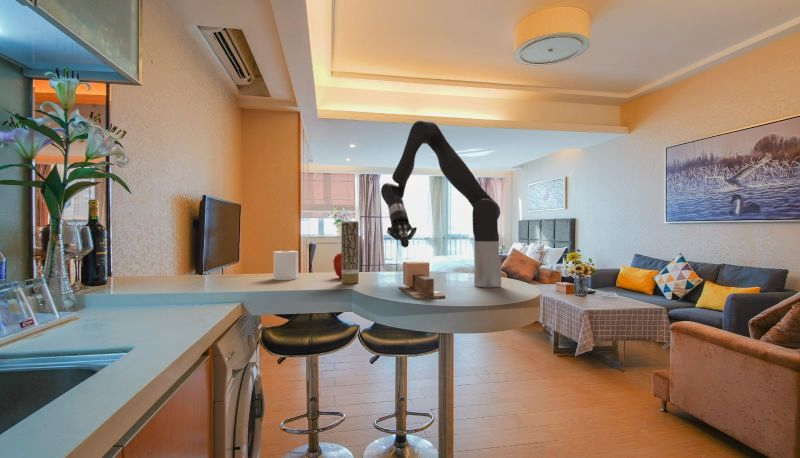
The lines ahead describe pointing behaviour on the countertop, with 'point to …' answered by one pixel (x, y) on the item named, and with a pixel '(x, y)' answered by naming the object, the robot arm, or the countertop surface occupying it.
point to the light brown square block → (414, 271)
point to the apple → (338, 264)
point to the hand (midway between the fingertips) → (405, 246)
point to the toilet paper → (285, 265)
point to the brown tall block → (350, 252)
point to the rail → (422, 288)
